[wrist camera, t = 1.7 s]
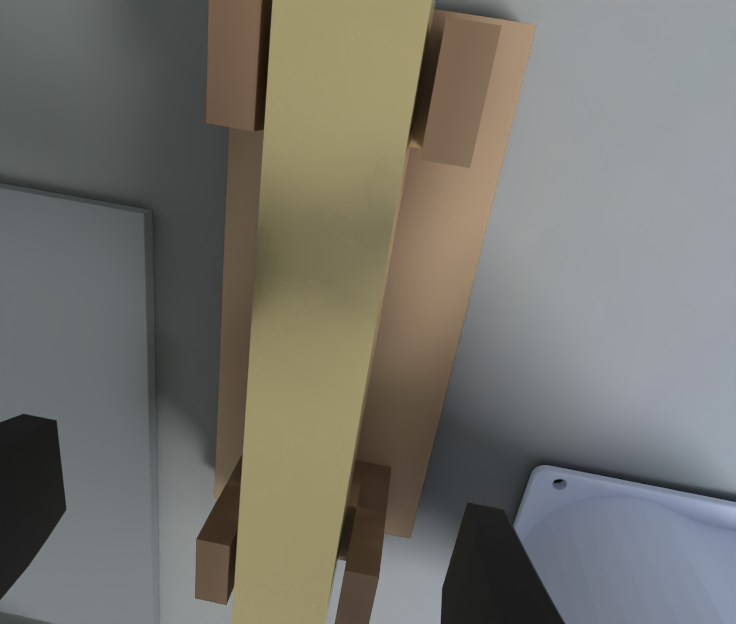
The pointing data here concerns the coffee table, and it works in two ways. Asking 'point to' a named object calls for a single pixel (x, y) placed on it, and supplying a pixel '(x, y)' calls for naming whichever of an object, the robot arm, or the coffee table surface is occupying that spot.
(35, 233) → the charcoal mat
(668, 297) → the coffee table surface
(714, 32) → the coffee table surface
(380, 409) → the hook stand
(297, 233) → the brass rail
